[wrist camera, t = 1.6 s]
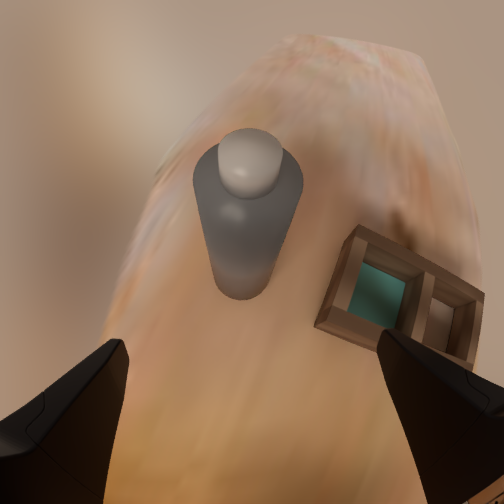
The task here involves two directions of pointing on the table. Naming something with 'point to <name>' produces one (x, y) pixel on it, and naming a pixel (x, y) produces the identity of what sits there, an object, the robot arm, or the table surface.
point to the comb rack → (396, 297)
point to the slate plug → (246, 208)
